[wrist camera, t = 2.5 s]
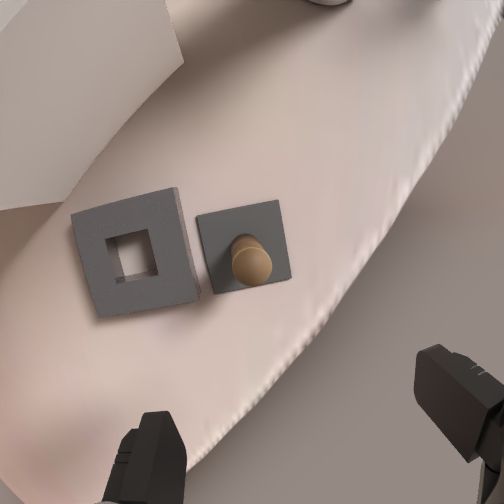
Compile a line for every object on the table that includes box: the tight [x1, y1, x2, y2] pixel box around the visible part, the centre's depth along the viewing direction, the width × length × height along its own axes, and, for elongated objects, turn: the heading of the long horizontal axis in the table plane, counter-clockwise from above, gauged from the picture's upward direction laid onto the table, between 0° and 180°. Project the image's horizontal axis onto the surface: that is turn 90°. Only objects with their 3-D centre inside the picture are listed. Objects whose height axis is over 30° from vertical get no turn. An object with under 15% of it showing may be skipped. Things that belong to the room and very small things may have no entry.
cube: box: [0, 0, 184, 210], centre depth 18 cm, size 25×21×24 cm
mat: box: [197, 200, 292, 294], centre depth 35 cm, size 9×9×1 cm
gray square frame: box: [71, 187, 201, 318], centre depth 33 cm, size 12×12×3 cm
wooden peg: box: [231, 234, 272, 286], centre depth 31 cm, size 3×3×9 cm
